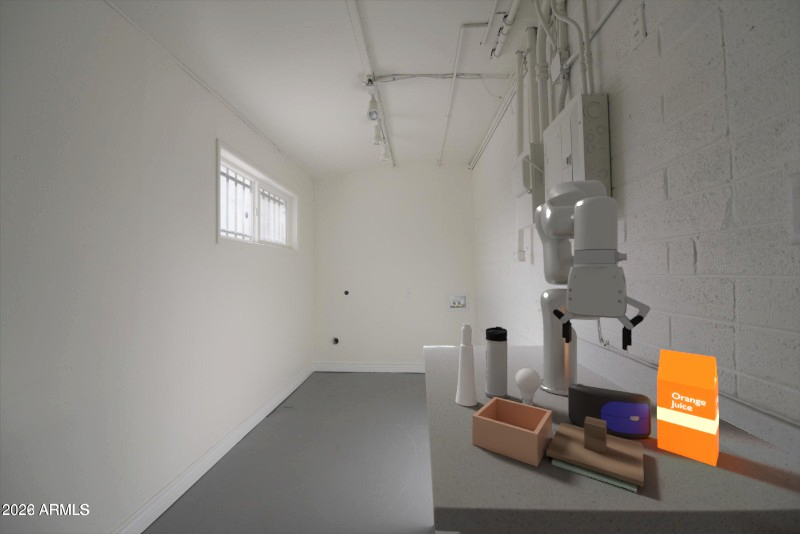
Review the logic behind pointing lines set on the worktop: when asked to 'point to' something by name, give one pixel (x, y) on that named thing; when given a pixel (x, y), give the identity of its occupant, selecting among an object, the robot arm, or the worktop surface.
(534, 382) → the lightbulb
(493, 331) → the travel mug
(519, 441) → the salmon open box
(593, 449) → the lid
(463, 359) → the cosmetic bottle
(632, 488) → the mat
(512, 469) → the worktop surface
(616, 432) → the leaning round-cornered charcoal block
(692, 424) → the orange juice
